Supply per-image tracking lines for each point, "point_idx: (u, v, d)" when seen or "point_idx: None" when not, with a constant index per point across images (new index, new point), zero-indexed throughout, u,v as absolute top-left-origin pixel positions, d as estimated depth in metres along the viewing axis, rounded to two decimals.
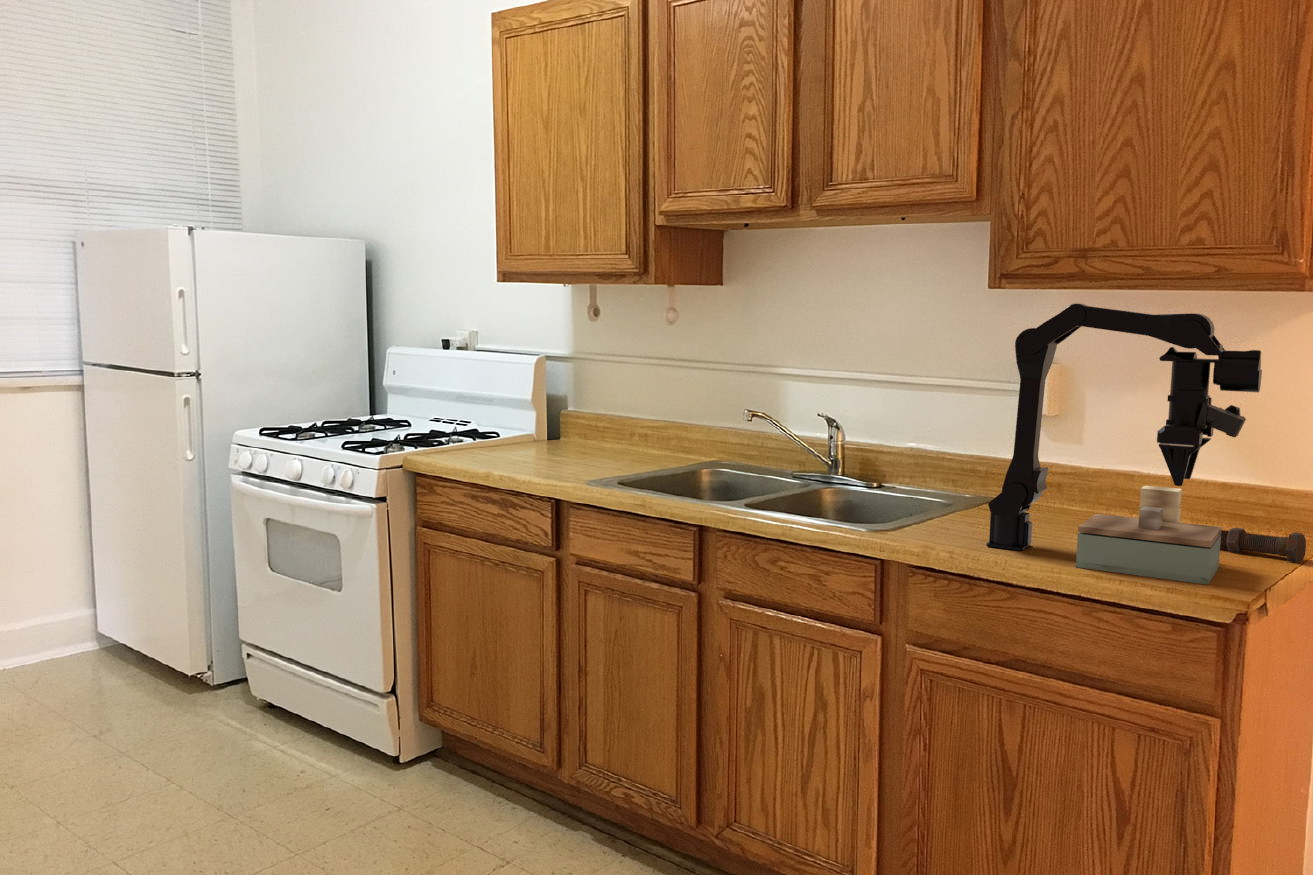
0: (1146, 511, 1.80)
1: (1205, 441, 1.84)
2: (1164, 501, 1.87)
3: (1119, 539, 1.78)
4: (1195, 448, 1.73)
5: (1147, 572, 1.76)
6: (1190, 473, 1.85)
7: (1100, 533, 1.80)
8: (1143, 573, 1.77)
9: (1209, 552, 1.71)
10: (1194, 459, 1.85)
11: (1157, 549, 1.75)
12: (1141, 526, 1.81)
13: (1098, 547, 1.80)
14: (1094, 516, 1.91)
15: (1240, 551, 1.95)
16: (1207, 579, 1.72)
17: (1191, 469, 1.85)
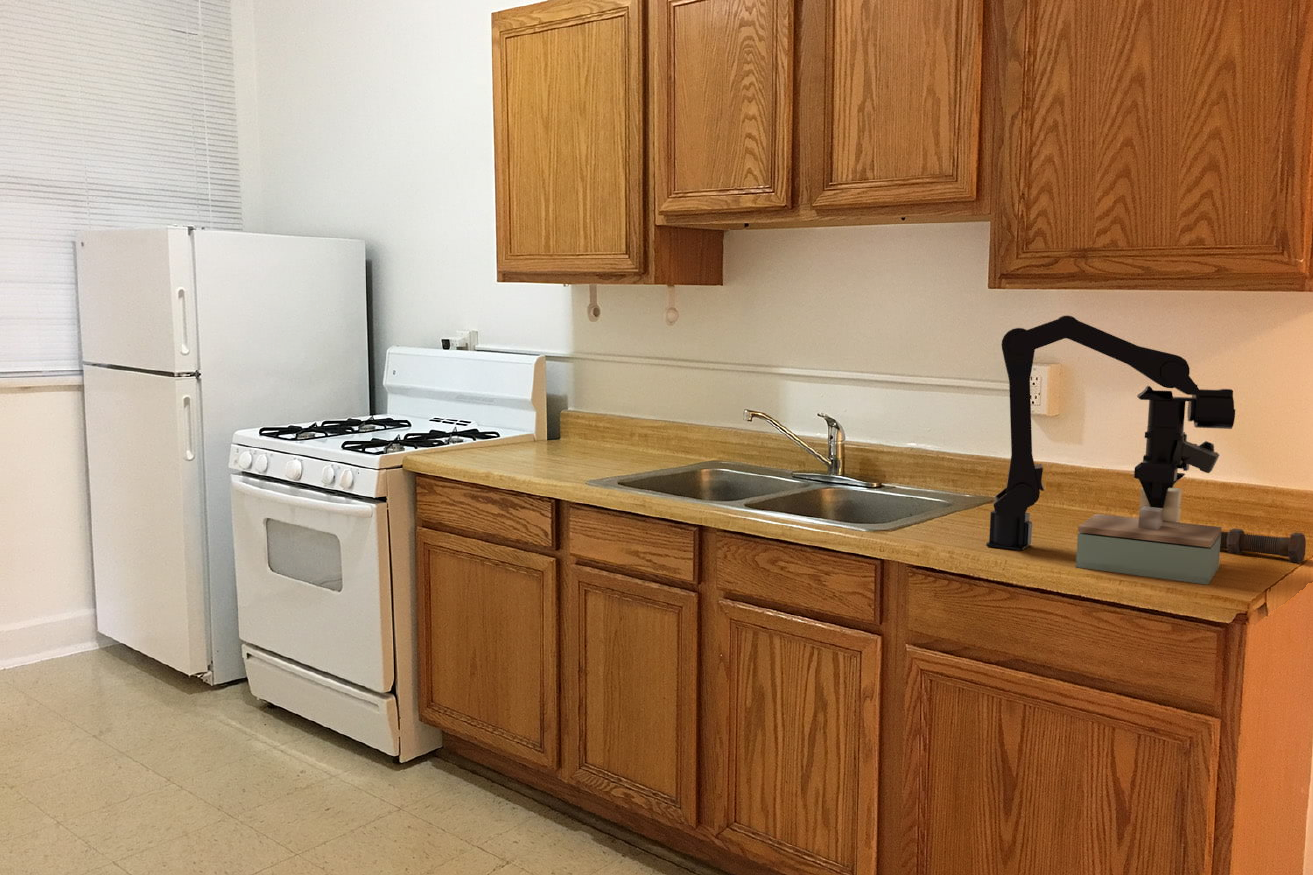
0: (1146, 511, 1.80)
1: (1179, 477, 1.90)
2: None
3: (1119, 539, 1.78)
4: (1172, 482, 1.83)
5: (1147, 572, 1.76)
6: None
7: (1100, 533, 1.80)
8: (1143, 573, 1.77)
9: (1209, 552, 1.71)
10: None
11: (1157, 549, 1.75)
12: (1141, 526, 1.81)
13: (1098, 547, 1.80)
14: (1094, 516, 1.91)
15: (1240, 552, 1.94)
16: (1207, 579, 1.72)
17: None
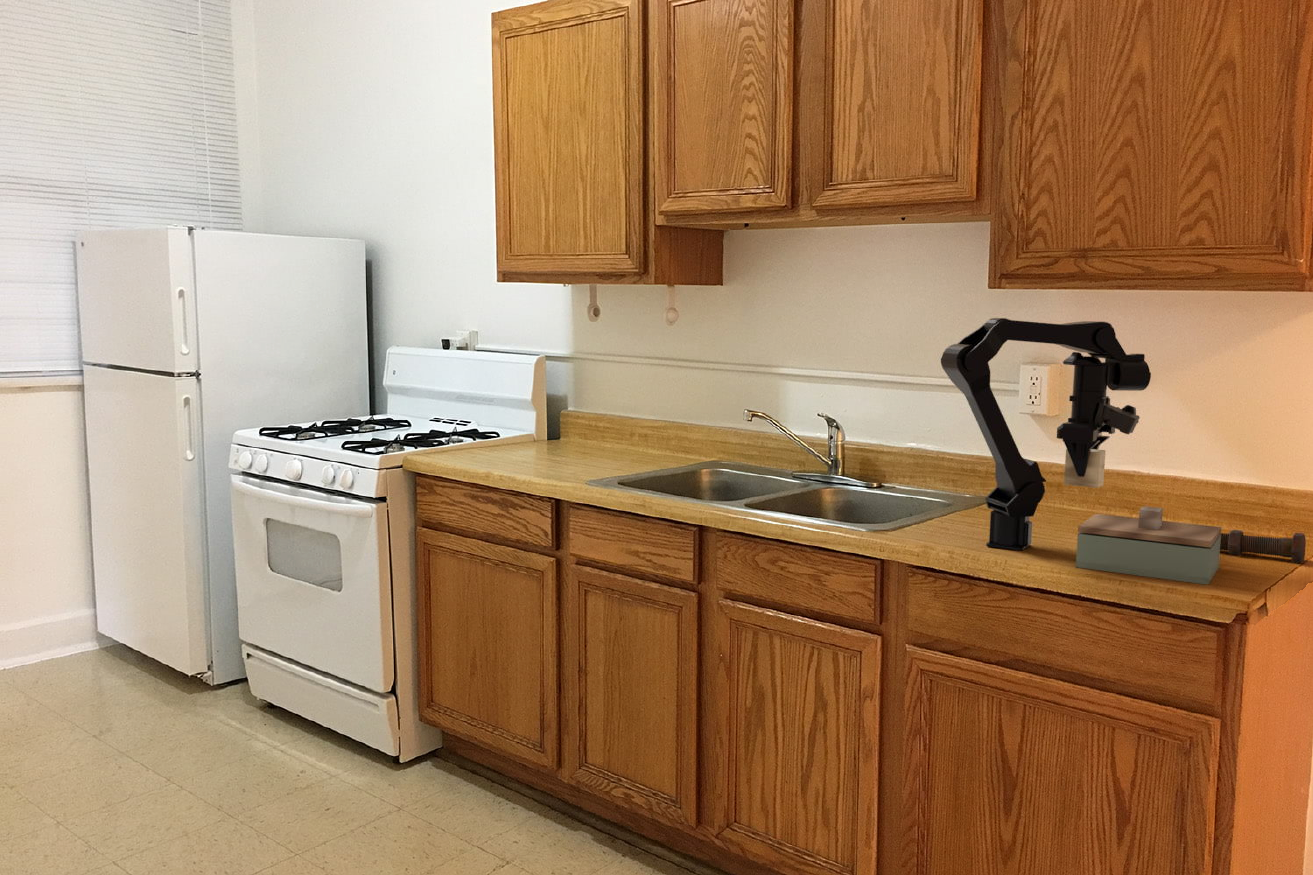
0: (1146, 511, 1.80)
1: (1103, 439, 1.99)
2: (1088, 462, 1.97)
3: (1119, 539, 1.78)
4: (1093, 442, 1.93)
5: (1147, 572, 1.76)
6: None
7: (1100, 533, 1.80)
8: (1143, 573, 1.77)
9: (1209, 552, 1.71)
10: None
11: (1157, 549, 1.75)
12: (1141, 526, 1.81)
13: (1098, 547, 1.80)
14: (1094, 516, 1.91)
15: (1240, 553, 1.93)
16: (1207, 579, 1.72)
17: None
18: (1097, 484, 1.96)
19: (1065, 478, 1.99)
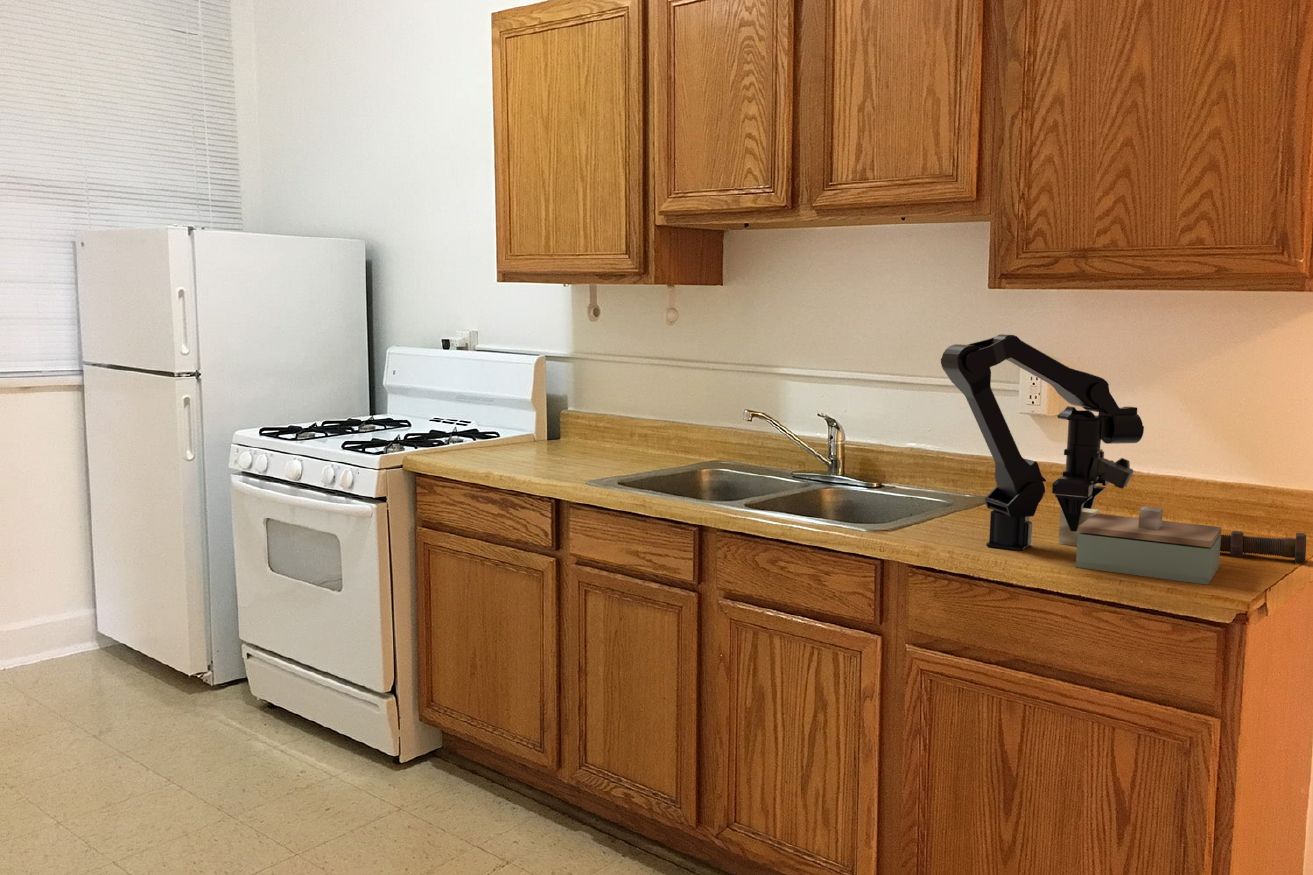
0: (1146, 511, 1.80)
1: (1099, 490, 2.03)
2: (1082, 522, 1.99)
3: (1119, 539, 1.78)
4: (1086, 498, 1.93)
5: (1147, 572, 1.76)
6: None
7: (1100, 533, 1.80)
8: (1143, 573, 1.77)
9: (1209, 552, 1.71)
10: (1090, 506, 2.03)
11: (1157, 549, 1.75)
12: (1141, 526, 1.81)
13: (1098, 547, 1.80)
14: (1094, 516, 1.91)
15: (1242, 554, 1.92)
16: (1207, 579, 1.72)
17: None
18: None
19: (1060, 538, 2.01)
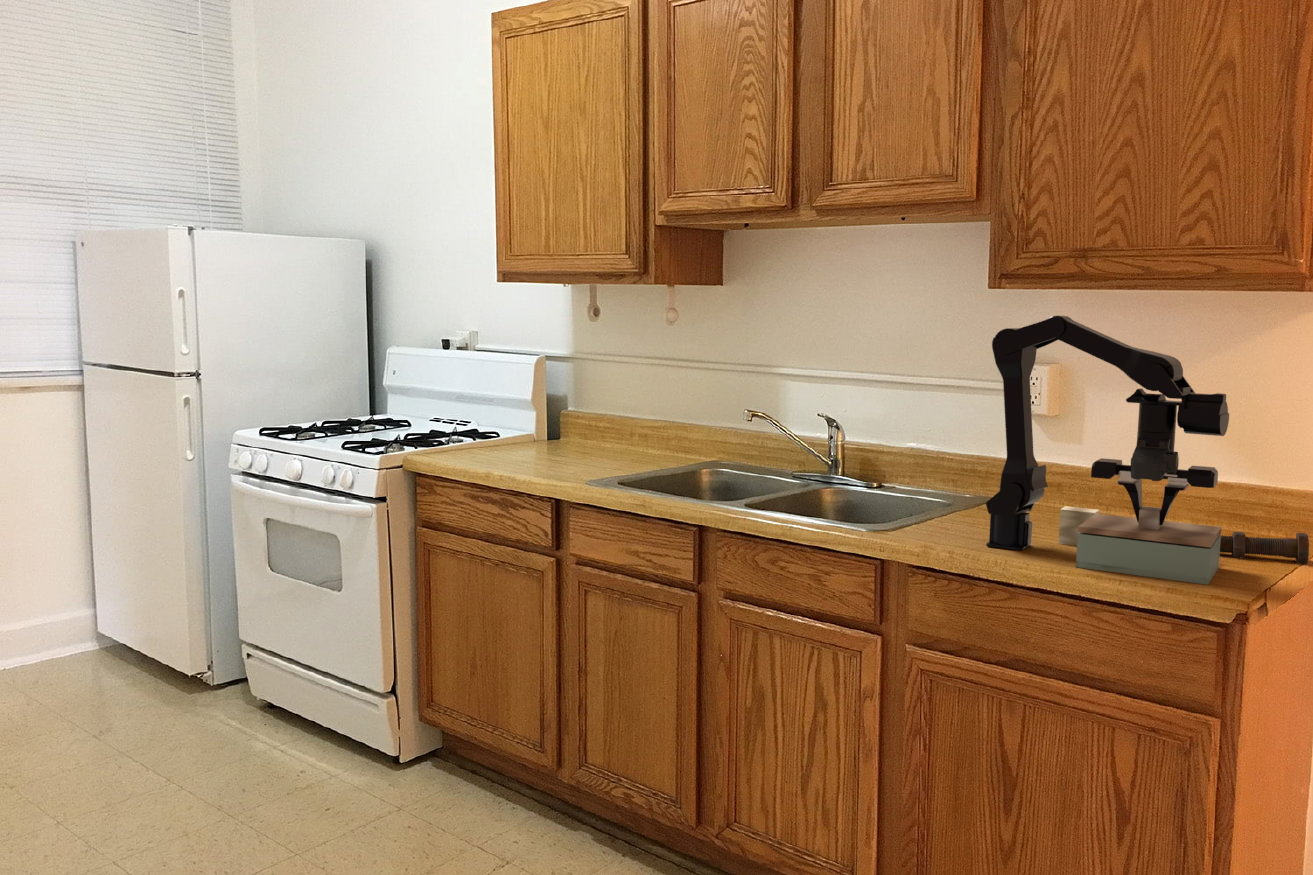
0: (1146, 511, 1.80)
1: None
2: (1082, 522, 1.99)
3: (1119, 539, 1.78)
4: (1118, 482, 1.82)
5: (1147, 572, 1.76)
6: (1160, 519, 1.81)
7: (1100, 533, 1.80)
8: (1143, 573, 1.77)
9: (1209, 552, 1.71)
10: (1162, 505, 1.80)
11: (1157, 549, 1.75)
12: (1141, 526, 1.81)
13: (1098, 547, 1.80)
14: (1094, 516, 1.91)
15: None
16: (1207, 579, 1.72)
17: (1160, 515, 1.80)
18: None
19: (1060, 538, 2.01)
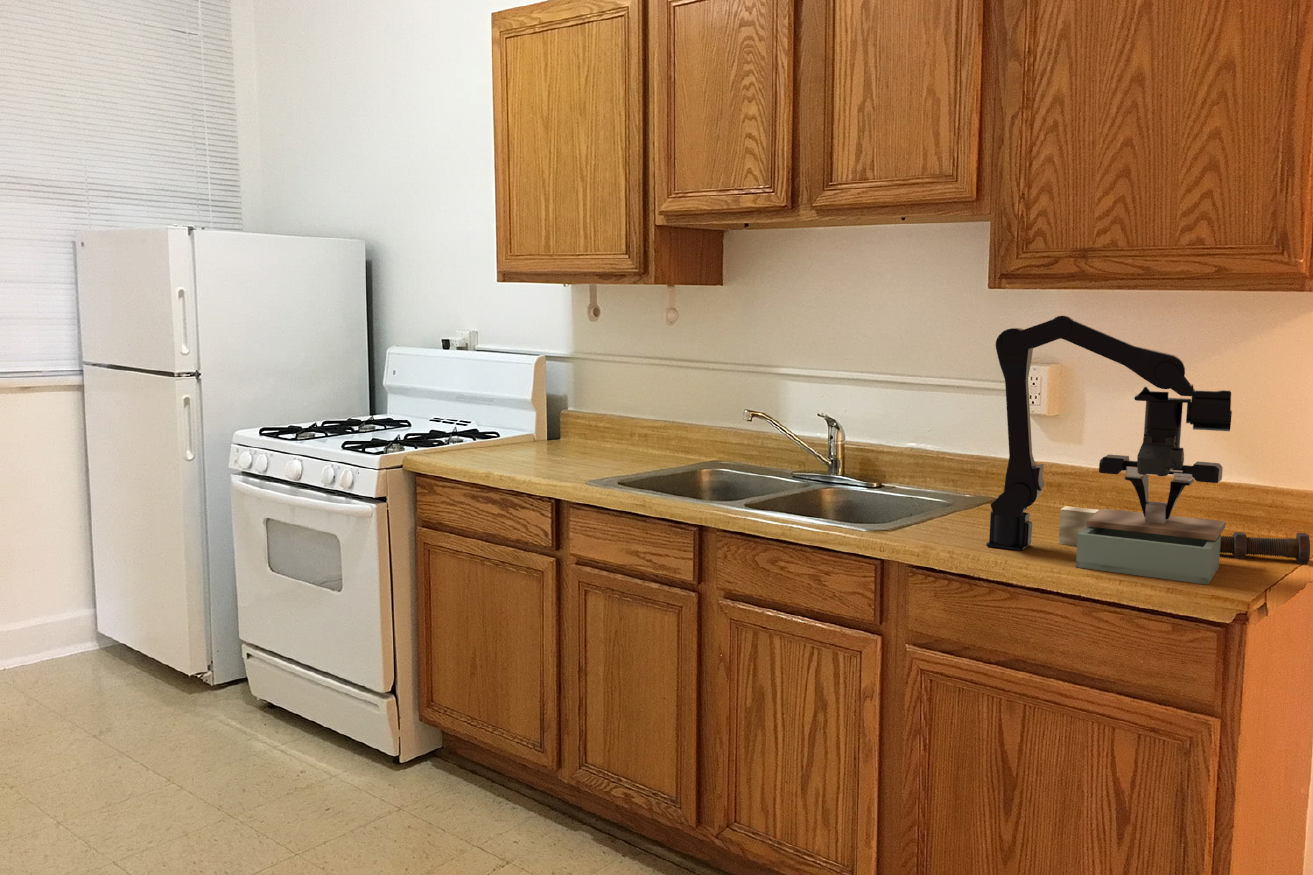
0: (1152, 506, 1.85)
1: None
2: (1082, 522, 1.99)
3: (1119, 539, 1.78)
4: (1125, 478, 1.87)
5: (1147, 572, 1.76)
6: (1166, 513, 1.86)
7: (1108, 527, 1.85)
8: (1143, 573, 1.77)
9: (1209, 552, 1.71)
10: (1168, 500, 1.85)
11: (1157, 549, 1.75)
12: (1147, 520, 1.86)
13: (1098, 547, 1.80)
14: (1101, 511, 1.96)
15: None
16: (1207, 579, 1.72)
17: (1166, 509, 1.86)
18: None
19: (1060, 538, 2.01)
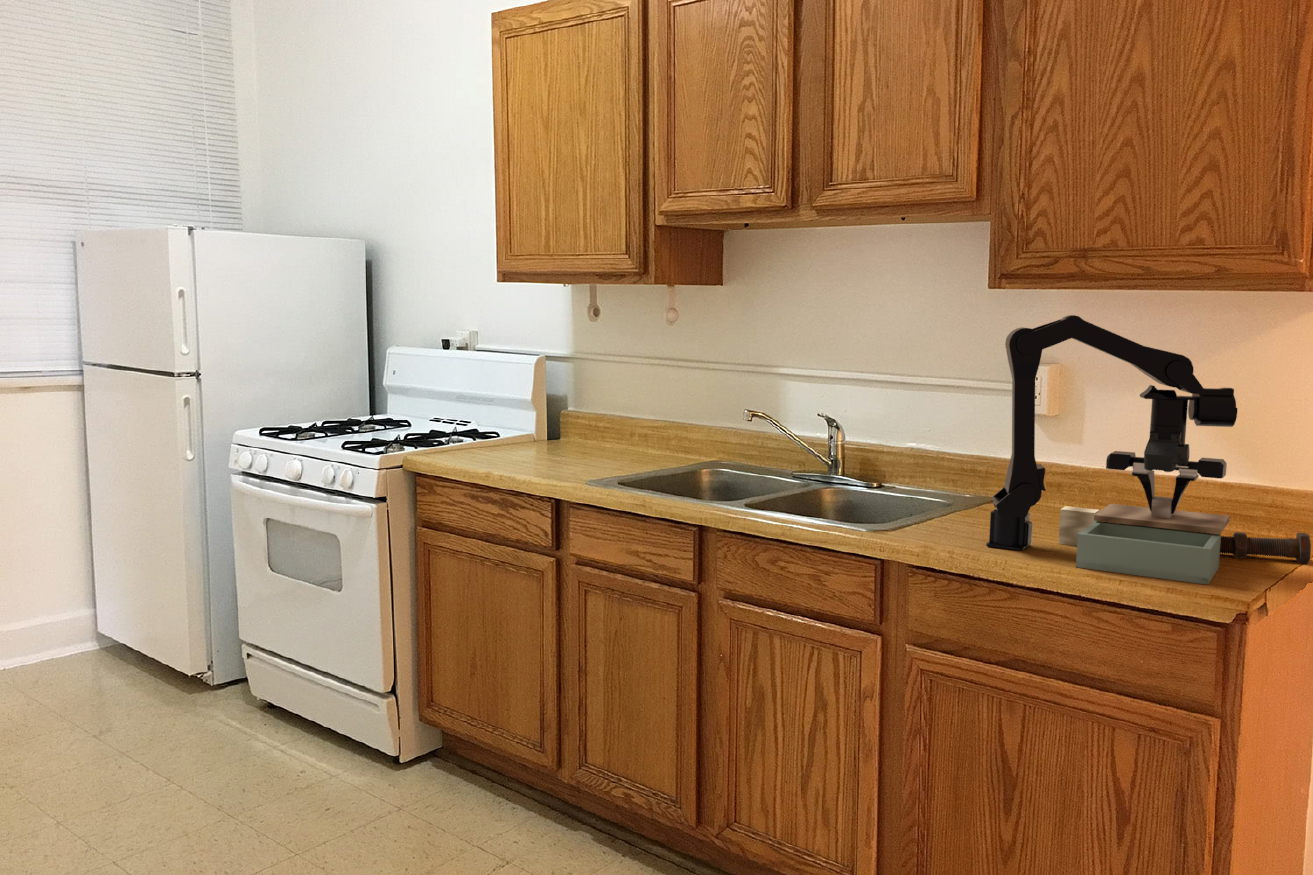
0: (1158, 501, 1.91)
1: (1176, 478, 1.88)
2: (1082, 522, 1.99)
3: (1119, 539, 1.78)
4: (1132, 474, 1.92)
5: (1147, 572, 1.76)
6: (1171, 508, 1.91)
7: (1115, 521, 1.90)
8: (1143, 573, 1.77)
9: (1209, 552, 1.71)
10: (1173, 495, 1.90)
11: (1157, 549, 1.75)
12: (1154, 515, 1.91)
13: (1098, 547, 1.80)
14: (1108, 506, 2.01)
15: None
16: (1207, 579, 1.72)
17: None
18: None
19: (1060, 538, 2.01)
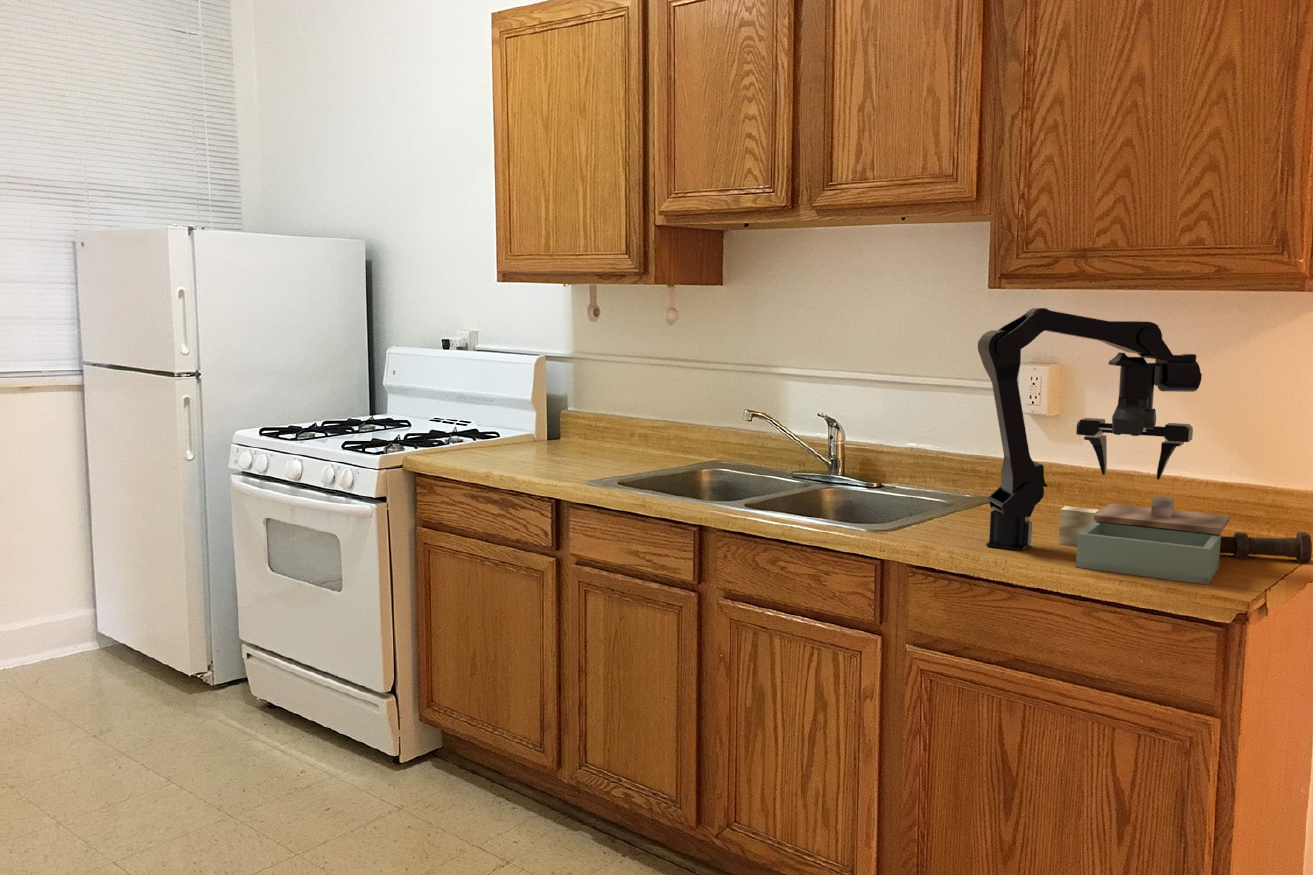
0: (1158, 500, 1.91)
1: None
2: (1082, 522, 1.99)
3: (1119, 539, 1.78)
4: (1084, 438, 1.99)
5: (1147, 572, 1.76)
6: (1157, 474, 1.94)
7: (1115, 521, 1.90)
8: (1143, 573, 1.77)
9: (1209, 552, 1.71)
10: (1159, 461, 1.93)
11: (1157, 549, 1.75)
12: (1154, 515, 1.91)
13: (1098, 547, 1.80)
14: (1108, 506, 2.01)
15: None
16: (1207, 579, 1.72)
17: (1157, 470, 1.94)
18: None
19: (1060, 538, 2.01)
